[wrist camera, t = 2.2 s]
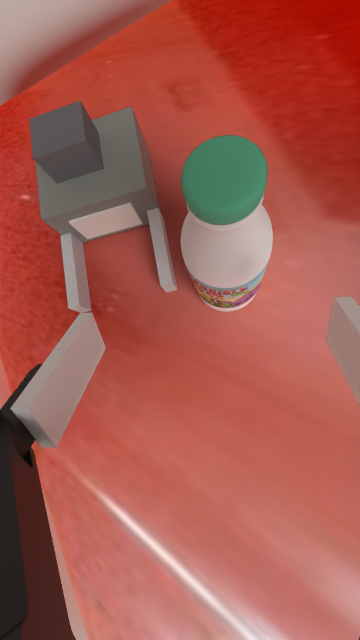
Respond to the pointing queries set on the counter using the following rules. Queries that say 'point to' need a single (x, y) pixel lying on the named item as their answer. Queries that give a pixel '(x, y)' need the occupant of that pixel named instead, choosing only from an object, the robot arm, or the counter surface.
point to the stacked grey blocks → (96, 188)
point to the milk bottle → (226, 221)
